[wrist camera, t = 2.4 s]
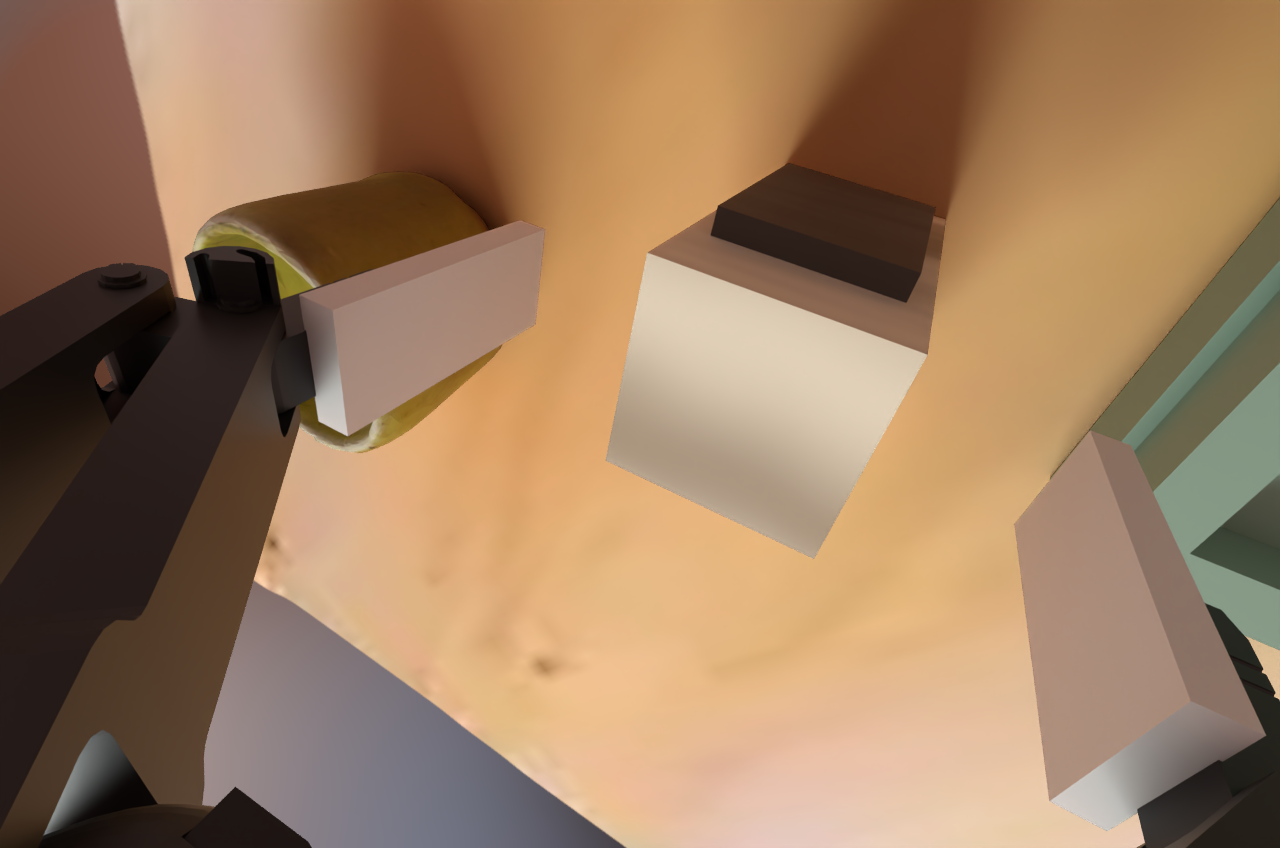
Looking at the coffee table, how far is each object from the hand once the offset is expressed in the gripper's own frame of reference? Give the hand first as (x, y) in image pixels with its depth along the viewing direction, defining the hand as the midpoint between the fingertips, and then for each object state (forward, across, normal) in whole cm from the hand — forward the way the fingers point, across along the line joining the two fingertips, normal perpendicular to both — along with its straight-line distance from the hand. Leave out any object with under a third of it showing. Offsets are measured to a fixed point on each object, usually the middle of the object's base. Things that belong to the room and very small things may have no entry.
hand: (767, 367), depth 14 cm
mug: (+7, -17, -6) cm, 19 cm away
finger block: (+7, 0, +1) cm, 7 cm away
